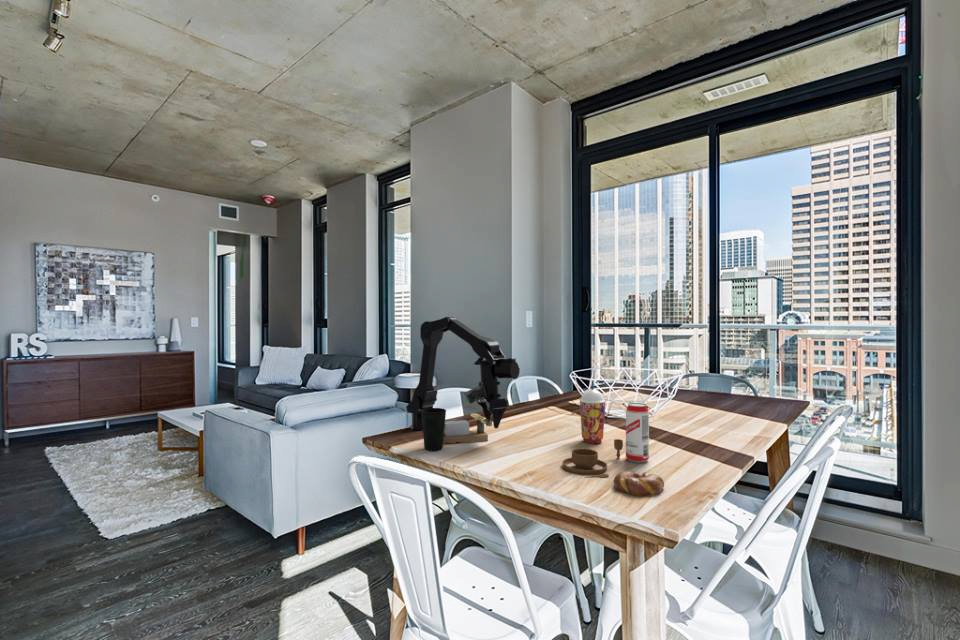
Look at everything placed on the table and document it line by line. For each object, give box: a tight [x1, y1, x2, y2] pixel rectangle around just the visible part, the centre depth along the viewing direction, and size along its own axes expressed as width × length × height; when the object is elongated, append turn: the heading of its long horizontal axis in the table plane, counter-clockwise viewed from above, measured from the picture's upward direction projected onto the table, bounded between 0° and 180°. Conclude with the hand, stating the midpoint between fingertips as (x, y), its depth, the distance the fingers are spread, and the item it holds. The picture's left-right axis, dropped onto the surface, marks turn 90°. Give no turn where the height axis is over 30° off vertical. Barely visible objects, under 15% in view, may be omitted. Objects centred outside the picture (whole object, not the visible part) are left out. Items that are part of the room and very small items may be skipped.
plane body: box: [443, 420, 489, 445], centre depth 158 cm, size 7×17×6 cm, turn 106°
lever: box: [470, 413, 493, 427], centre depth 160 cm, size 4×16×1 cm, turn 19°
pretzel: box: [613, 470, 665, 497], centre depth 114 cm, size 12×11×4 cm
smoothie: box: [579, 380, 607, 444], centre depth 157 cm, size 8×8×20 cm
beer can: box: [625, 402, 650, 464], centre depth 136 cm, size 6×6×16 cm
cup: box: [421, 407, 447, 452], centre depth 148 cm, size 8×8×12 cm
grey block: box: [444, 419, 470, 437], centre depth 158 cm, size 4×8×4 cm, turn 106°
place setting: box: [561, 438, 624, 479], centre depth 130 cm, size 18×20×6 cm
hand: (491, 425), depth 158 cm, fingers open, 9 cm apart
